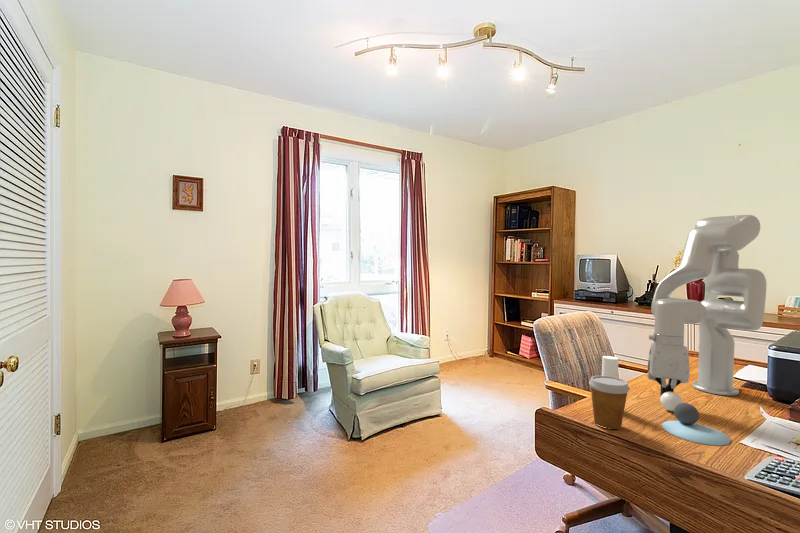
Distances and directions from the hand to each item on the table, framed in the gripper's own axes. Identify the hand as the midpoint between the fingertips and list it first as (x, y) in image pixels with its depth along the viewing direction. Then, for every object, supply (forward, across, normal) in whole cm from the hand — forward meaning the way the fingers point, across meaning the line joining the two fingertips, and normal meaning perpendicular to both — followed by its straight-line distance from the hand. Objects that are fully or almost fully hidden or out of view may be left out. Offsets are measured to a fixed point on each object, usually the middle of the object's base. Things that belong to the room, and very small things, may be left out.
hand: (666, 399), depth 120 cm
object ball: (-1, 0, -15) cm, 15 cm away
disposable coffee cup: (+2, -21, -24) cm, 32 cm away
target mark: (+2, 0, -21) cm, 21 cm away
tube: (+2, -18, -10) cm, 20 cm away
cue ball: (-1, 0, -6) cm, 6 cm away
